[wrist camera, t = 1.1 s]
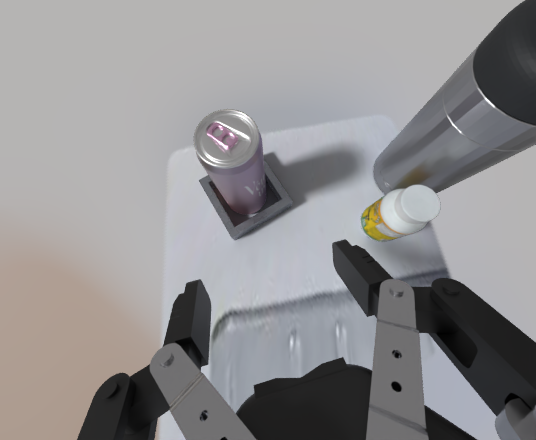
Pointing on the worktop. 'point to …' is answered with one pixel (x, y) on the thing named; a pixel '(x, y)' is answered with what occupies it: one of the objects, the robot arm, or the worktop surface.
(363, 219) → the supplement bottle
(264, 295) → the worktop surface
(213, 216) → the worktop surface
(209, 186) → the collar
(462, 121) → the robot arm
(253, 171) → the beverage can
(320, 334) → the worktop surface
